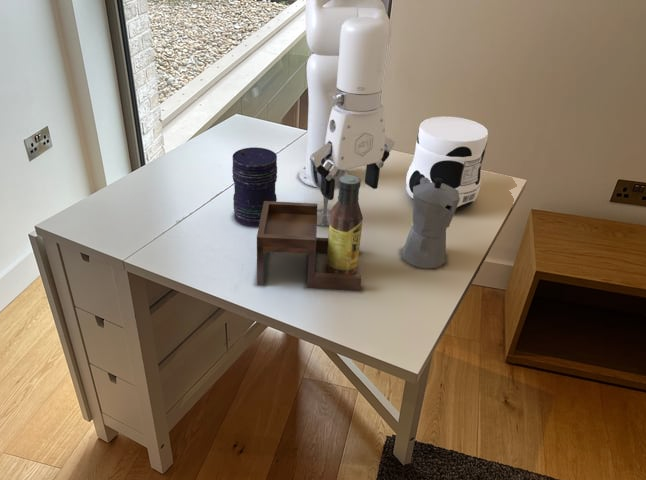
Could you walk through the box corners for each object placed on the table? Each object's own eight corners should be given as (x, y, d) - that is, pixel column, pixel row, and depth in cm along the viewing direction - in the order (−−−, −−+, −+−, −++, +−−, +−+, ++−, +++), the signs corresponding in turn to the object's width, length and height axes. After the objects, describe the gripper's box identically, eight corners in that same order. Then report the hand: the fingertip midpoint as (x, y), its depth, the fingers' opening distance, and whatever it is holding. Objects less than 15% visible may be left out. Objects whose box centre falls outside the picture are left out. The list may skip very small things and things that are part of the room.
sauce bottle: (355, 280, 116) (365, 189, 104) (324, 276, 117) (331, 186, 105) (358, 262, 121) (368, 174, 109) (328, 258, 122) (335, 170, 110)
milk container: (409, 178, 152) (421, 110, 142) (478, 189, 148) (495, 120, 137) (397, 209, 139) (409, 136, 129) (472, 222, 135) (491, 148, 124)
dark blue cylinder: (283, 211, 138) (284, 152, 129) (265, 231, 131) (265, 169, 122) (245, 203, 141) (244, 144, 132) (226, 221, 134) (223, 160, 125)
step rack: (357, 251, 124) (362, 205, 118) (359, 290, 113) (365, 242, 107) (263, 246, 126) (263, 200, 119) (257, 285, 115) (256, 237, 108)
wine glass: (345, 213, 138) (351, 153, 129) (337, 229, 132) (342, 168, 123) (312, 207, 140) (316, 148, 131) (303, 223, 134) (306, 162, 125)
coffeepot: (458, 271, 119) (478, 192, 108) (415, 277, 117) (431, 197, 106) (426, 233, 131) (440, 157, 120) (386, 237, 129) (397, 161, 118)
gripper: (326, 113, 92) (320, 210, 102) (413, 97, 99) (399, 189, 109) (302, 99, 98) (298, 192, 108) (386, 85, 104) (375, 174, 114)
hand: (349, 191), depth 108 cm, fingers open, 9 cm apart
